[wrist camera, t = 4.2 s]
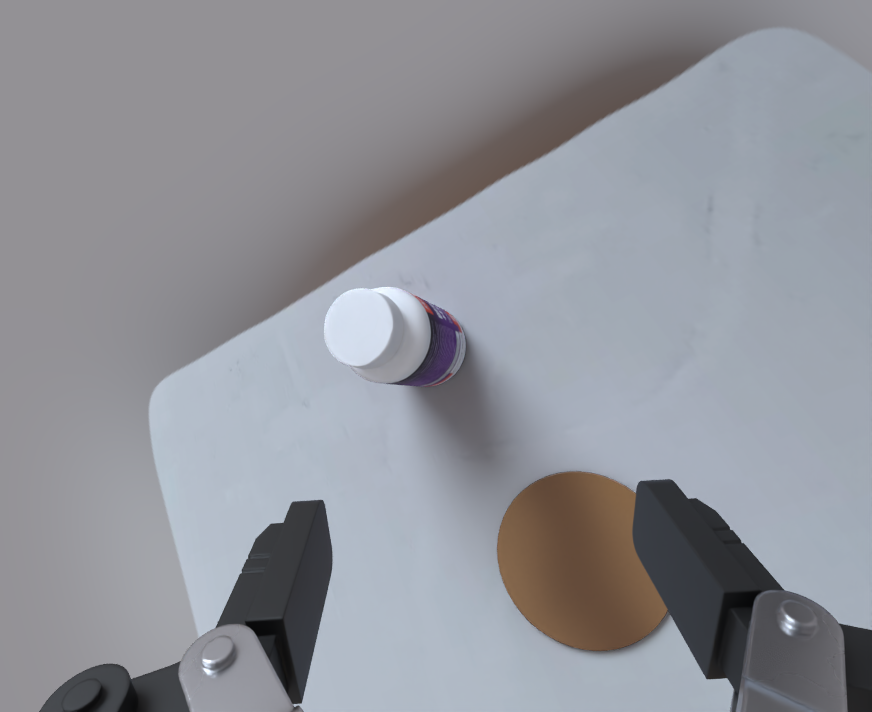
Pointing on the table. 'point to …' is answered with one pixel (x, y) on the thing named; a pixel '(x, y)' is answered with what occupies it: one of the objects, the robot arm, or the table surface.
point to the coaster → (578, 562)
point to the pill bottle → (394, 337)
